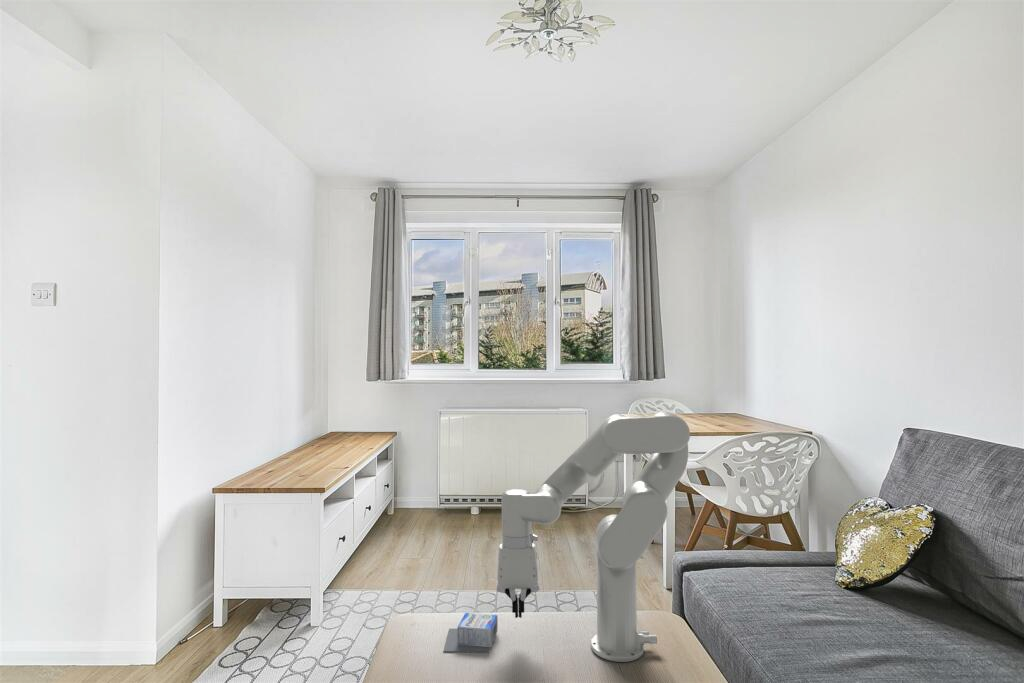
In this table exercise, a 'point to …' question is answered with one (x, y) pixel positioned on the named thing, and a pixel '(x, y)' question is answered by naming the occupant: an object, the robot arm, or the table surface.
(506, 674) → the table surface
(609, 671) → the table surface
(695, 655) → the table surface
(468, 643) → the medicine box
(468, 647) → the mat
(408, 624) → the table surface
